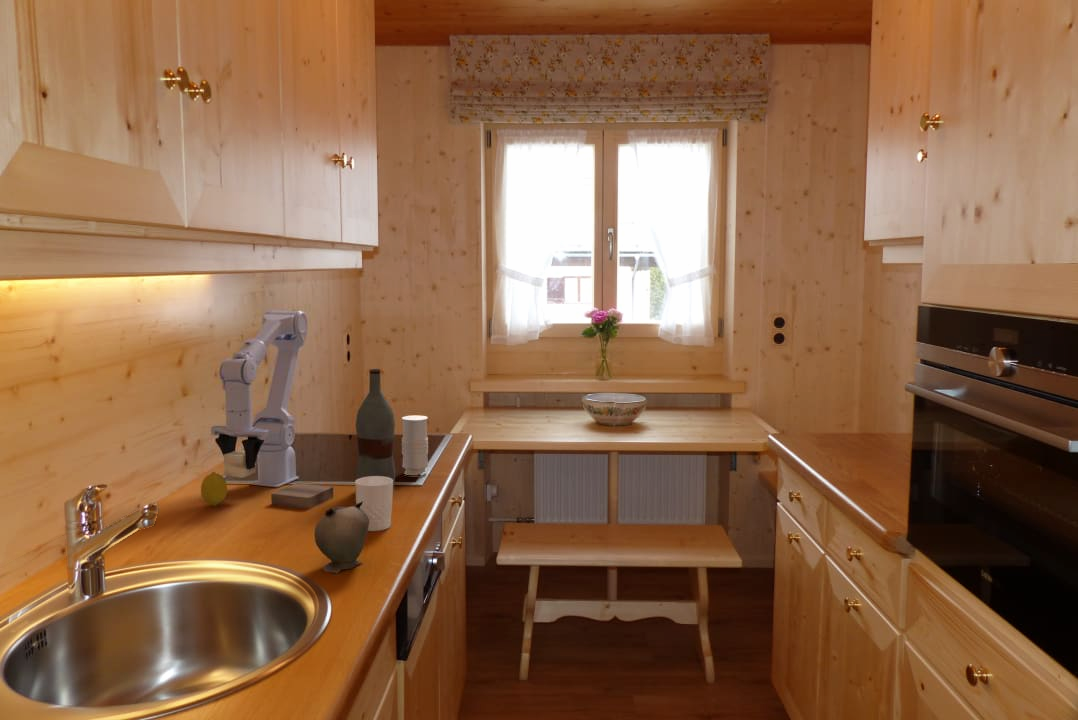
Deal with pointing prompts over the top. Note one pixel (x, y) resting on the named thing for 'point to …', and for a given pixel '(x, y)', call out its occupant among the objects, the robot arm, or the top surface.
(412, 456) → the stack of cups
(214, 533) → the top surface
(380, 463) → the bottle
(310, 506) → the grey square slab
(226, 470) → the maple cube
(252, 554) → the top surface
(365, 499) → the white cup
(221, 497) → the lemon
